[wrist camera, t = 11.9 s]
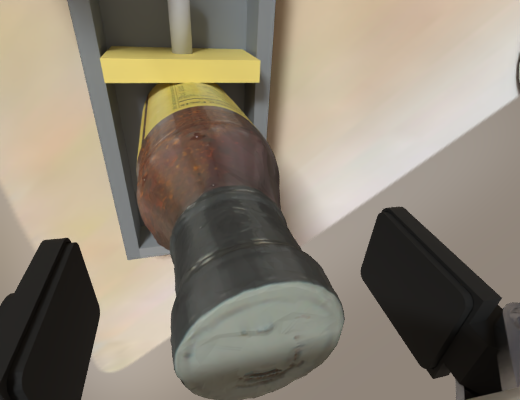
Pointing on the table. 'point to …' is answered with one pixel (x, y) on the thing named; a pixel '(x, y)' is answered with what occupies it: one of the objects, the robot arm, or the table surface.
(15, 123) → the table surface
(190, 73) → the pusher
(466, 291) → the robot arm
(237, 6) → the grey tray
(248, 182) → the sauce bottle
